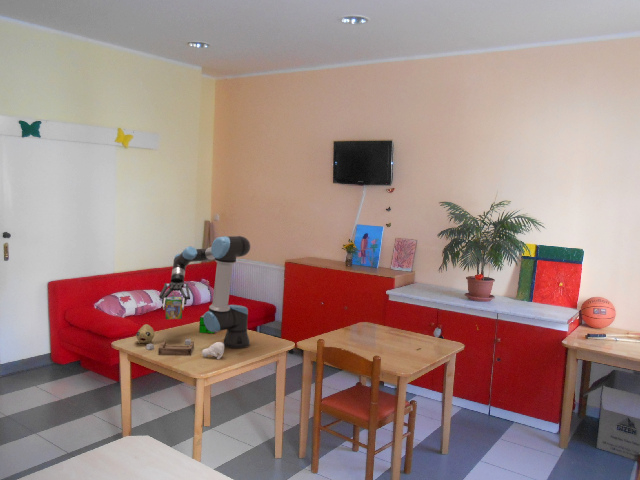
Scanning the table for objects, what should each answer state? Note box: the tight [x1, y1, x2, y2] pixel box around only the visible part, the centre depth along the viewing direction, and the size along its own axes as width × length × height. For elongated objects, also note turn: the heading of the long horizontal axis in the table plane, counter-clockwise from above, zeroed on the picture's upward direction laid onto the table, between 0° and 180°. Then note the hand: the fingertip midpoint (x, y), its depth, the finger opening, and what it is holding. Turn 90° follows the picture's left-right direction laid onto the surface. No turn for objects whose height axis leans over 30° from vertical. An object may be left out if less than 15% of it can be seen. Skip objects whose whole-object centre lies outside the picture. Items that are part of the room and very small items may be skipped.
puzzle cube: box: [198, 314, 217, 335], centre depth 335 cm, size 10×10×10 cm
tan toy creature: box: [135, 323, 155, 344], centre depth 302 cm, size 10×12×11 cm
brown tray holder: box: [157, 340, 195, 356], centre depth 292 cm, size 15×17×3 cm
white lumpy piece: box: [201, 341, 225, 360], centre depth 283 cm, size 6×8×12 cm
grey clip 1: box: [145, 343, 155, 351], centre depth 292 cm, size 3×3×2 cm
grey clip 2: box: [184, 338, 192, 346], centre depth 306 cm, size 3×3×2 cm
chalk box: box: [165, 291, 183, 320], centre depth 305 cm, size 9×9×15 cm
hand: (173, 308), depth 303 cm, fingers closed on chalk box, 10 cm apart
